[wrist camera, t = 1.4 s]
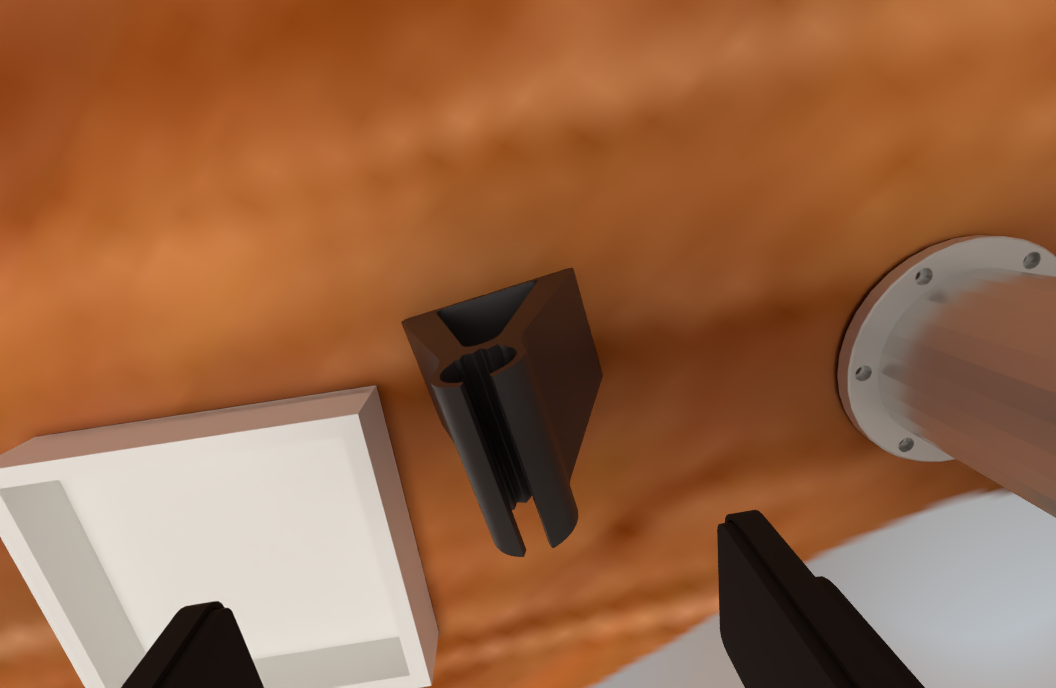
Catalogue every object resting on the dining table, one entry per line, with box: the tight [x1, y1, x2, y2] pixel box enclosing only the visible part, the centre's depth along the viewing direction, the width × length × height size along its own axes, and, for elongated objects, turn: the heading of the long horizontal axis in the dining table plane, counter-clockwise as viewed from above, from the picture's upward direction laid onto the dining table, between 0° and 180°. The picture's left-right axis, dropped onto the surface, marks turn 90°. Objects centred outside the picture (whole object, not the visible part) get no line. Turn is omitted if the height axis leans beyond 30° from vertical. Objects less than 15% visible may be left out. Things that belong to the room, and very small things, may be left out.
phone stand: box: [401, 268, 603, 557], centre depth 20 cm, size 9×6×12 cm, turn 107°
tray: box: [0, 385, 439, 688], centre depth 27 cm, size 18×17×4 cm
